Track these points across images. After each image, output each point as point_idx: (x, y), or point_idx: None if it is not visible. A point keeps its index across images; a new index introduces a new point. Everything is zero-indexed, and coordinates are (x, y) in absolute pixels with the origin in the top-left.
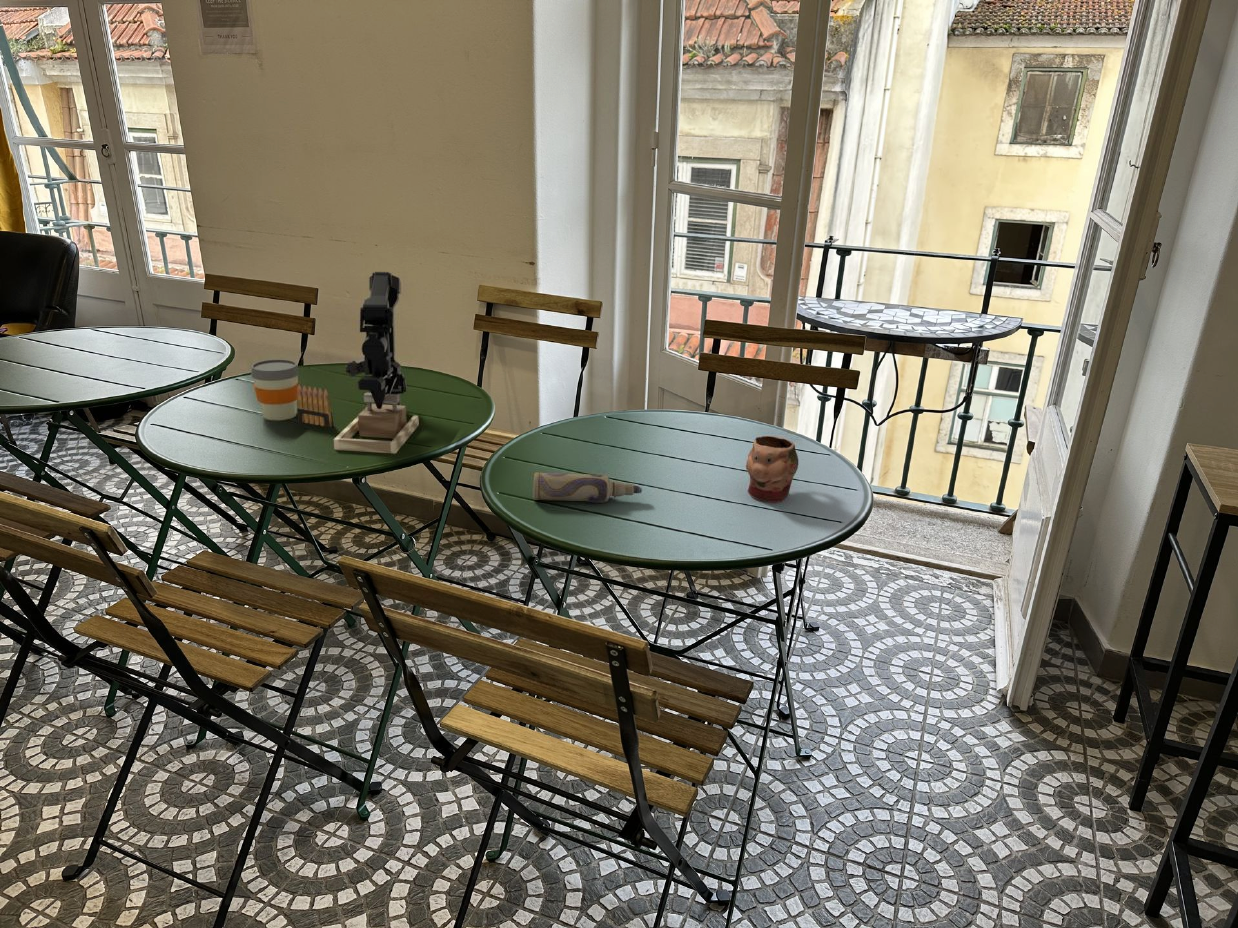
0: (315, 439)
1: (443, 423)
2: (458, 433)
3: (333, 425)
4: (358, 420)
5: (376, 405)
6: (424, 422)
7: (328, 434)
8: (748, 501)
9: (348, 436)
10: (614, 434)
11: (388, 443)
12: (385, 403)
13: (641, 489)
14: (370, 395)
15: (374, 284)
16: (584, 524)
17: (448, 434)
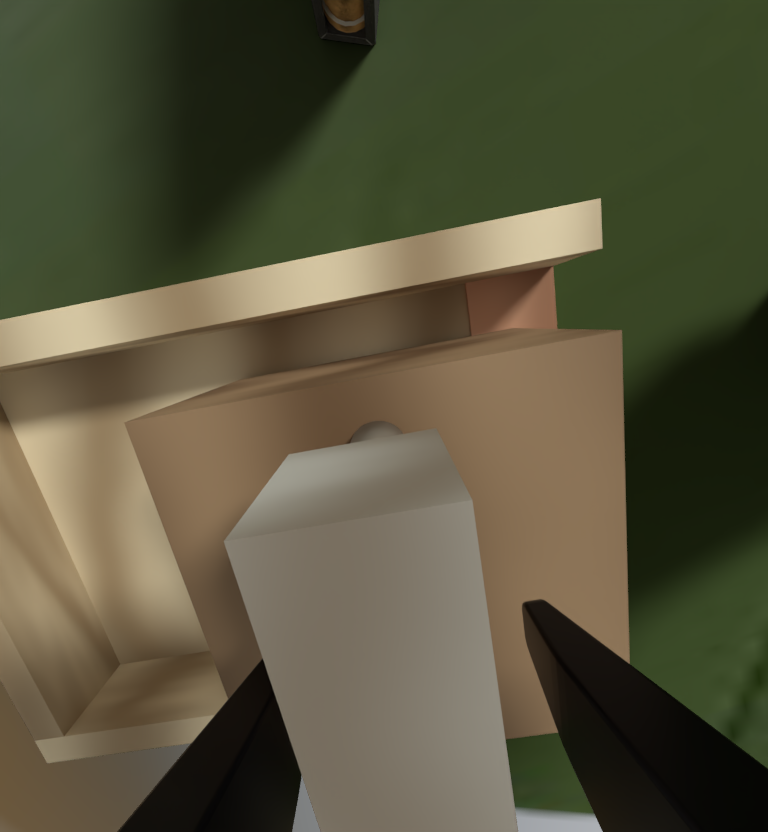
0: (113, 27)
1: (685, 675)
2: (548, 780)
3: (371, 12)
4: (167, 407)
5: (247, 685)
6: (683, 583)
7: (256, 69)
8: None
9: (114, 349)
10: None
11: (34, 725)
12: (527, 629)
13: None
14: (286, 706)
15: None
16: None
17: (520, 749)
